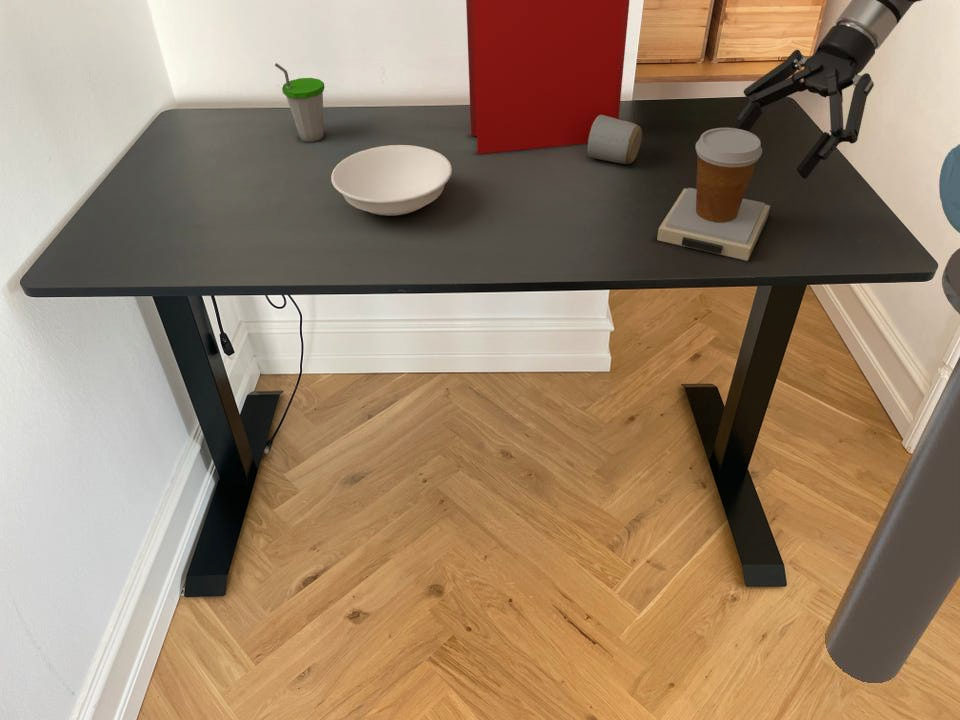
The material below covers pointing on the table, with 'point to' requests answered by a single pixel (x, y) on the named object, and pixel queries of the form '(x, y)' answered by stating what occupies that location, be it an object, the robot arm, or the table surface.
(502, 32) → the book
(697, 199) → the disposable coffee cup
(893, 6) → the robot arm
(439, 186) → the bowl
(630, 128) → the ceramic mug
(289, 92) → the cup
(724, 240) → the scale
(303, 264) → the table surface
